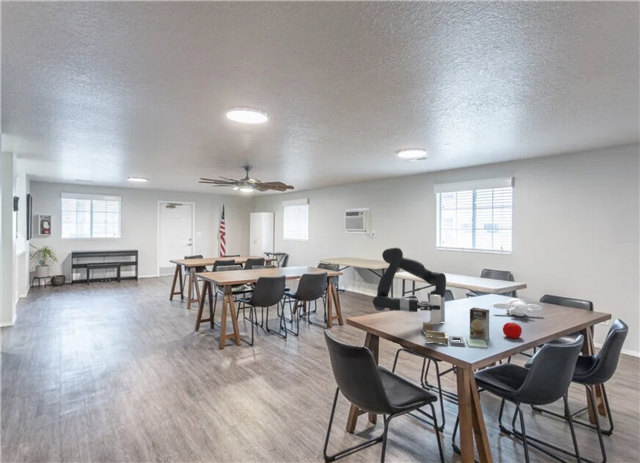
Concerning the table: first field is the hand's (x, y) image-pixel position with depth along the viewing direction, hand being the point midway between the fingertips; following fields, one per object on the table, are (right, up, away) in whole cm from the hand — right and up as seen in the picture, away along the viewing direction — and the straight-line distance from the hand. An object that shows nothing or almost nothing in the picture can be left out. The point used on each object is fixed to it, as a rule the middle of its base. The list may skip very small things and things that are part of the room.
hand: (440, 306), depth 192 cm
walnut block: (-2, -19, +15) cm, 25 cm away
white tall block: (-2, -9, +1) cm, 9 cm away
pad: (+18, -19, -6) cm, 26 cm away
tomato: (+43, -19, +6) cm, 48 cm away
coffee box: (+24, -19, +6) cm, 31 cm away
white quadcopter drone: (+77, -19, +62) cm, 100 cm away
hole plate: (+8, -19, -3) cm, 21 cm away
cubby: (-2, -19, +1) cm, 19 cm away
